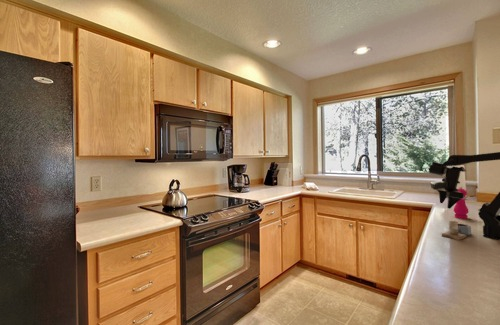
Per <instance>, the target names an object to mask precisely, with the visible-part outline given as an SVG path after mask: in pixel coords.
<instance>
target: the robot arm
mask: <svg viewBox="0 0 500 325" xmlns="http://www.w3.org/2000/svg"><path fill="white" fill-rule="evenodd" d="M499 160H500V151H497V152H488V153H479V154H452V155H449V156H448V158H447V159H446V160H445V161H444V162H443V163H440V162H437V161H432V163H431V165H430V166H429V167H428V173H429V174H432V175H436V176H441V177H442V176H444V177H443V178H442V179H441V180H436V181H431V182H430V188H431V189H432V190H435V191H436V192H438V195H439V196H438V197H439V203H440V204H443V203H444V202H445V200H446V199H447V209H451V208H452V207H453V206H455V205H456V203H457V202H458V201H459V200H461V199H463V198H464V194H463V193H462V192H460V191H458V189H459V188H457V187H458V184H460V183H461V181H459V179H460V176H461V172H463V173H465V172H467V170H466V168H464V166H465V165H468V164H472V163H478V162H490V161H499ZM459 166H460V167H459ZM477 211H478V217H479V218H480V219H481V220H482V221H483V223H484V225H482V234H483V235H482V236H483V237H485V238H490V239H495V240H499V241H500V191H499V192H498V193H497V194H496V196H495V197H494V198H493V199H492V201H491V202H485V203H483V204H482V206H481V207H480V208H479V209H477Z"/></svg>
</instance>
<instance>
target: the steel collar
mask: <svg viewBox="0 0 500 325" xmlns="http://www.w3.org/2000/svg"><path fill="white" fill-rule="evenodd" d="M458 233H459V234H464V235H466V236H471V234H472V226H471V225H468V224H464V223H460V222H459V223H458Z"/></svg>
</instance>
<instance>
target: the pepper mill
mask: <svg viewBox="0 0 500 325" xmlns="http://www.w3.org/2000/svg"><path fill="white" fill-rule="evenodd" d="M457 189H458V191H460V192H462V193H463V194H464V198H463V199H461V200H459V201H458V202H457V203H455V204H454V207H453V212H454V218H456V219H463V220H464V219H468V218H469V216H468V214H469V211H470V210H469V208H468V206H467V204H466V199H467V197H466V196H467V195H468V192H467V190H466V189H463V186H461V185H460V186H458V188H457Z"/></svg>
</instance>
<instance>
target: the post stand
mask: <svg viewBox="0 0 500 325" xmlns="http://www.w3.org/2000/svg"><path fill="white" fill-rule="evenodd" d="M448 225H449V228H448V230H449V231H445V232H443V233H441V237H445V238H449V239H454V240H457V241H460V240H463V239H465V238H467V235H464V234H459V233H458V221H455V220H454V221H453V220H449V224H448Z"/></svg>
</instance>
